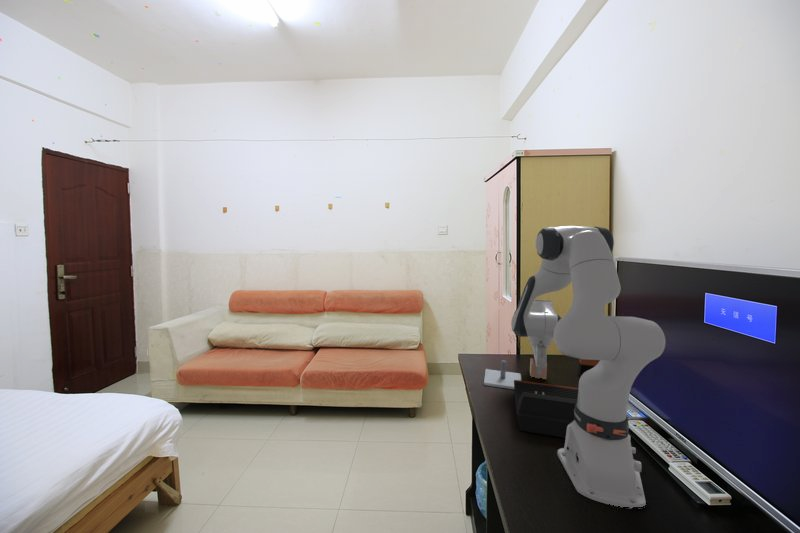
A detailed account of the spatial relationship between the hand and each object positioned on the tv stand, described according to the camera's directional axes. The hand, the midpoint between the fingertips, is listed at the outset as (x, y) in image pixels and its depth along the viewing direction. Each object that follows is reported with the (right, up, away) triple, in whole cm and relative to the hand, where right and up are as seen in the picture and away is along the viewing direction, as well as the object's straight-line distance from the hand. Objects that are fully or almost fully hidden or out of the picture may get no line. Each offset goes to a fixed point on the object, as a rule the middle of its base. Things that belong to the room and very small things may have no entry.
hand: (538, 370), depth 145 cm
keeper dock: (-16, -2, -5) cm, 17 cm away
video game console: (-6, -6, -32) cm, 33 cm away
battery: (+21, -3, 0) cm, 21 cm away
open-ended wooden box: (0, -2, 0) cm, 2 cm away
